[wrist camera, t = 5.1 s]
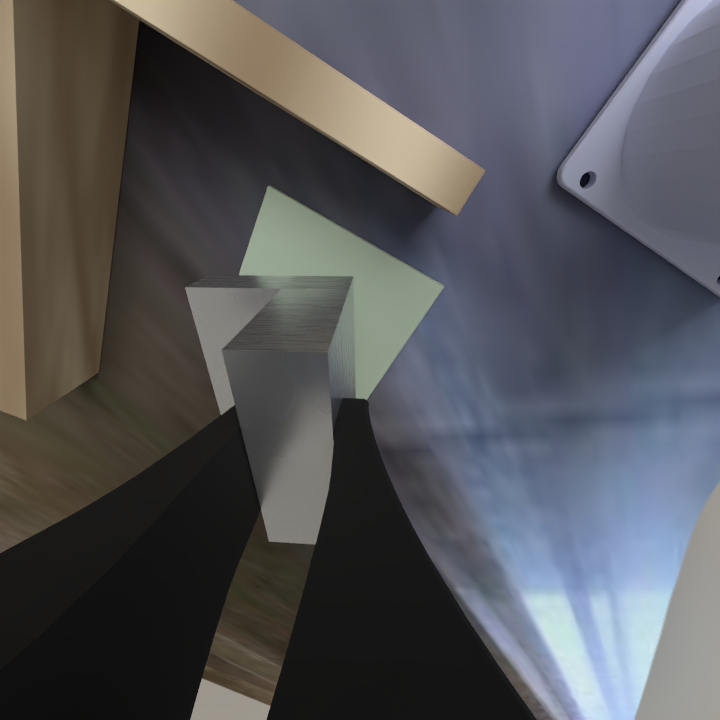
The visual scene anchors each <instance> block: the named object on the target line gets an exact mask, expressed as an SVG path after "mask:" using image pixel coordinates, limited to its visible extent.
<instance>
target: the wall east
mask: <svg viewBox="0 0 720 720" xmlns="http://www.w3.org/2000/svg"><path fill="white" fill-rule="evenodd" d="M138 28H139V20H138V19H137V18H135V17H134V16H132V15H131V14H129V13H128V12H126V11H125V10H123V9H122V8H120V7H119V6H117V5H116V4H114V3H113V2H111V1H110V0H0V411H3V412H6V413H8V414H11V415H13V416H16V417H19V418H21V419H24V420H28V419H29V418H31V417H32V416H34V415H35V414H37V413H38V412H40V411H41V410H43V409H44V408H46V407H48V406H49V405H51V404H52V403H54V402H55V401H57V400H58V399H60V398H61V397H63V396H64V395H66V394H67V393H69V392H70V391H72V390H73V389H75V388H76V387H78V386H79V385H81V384H82V383H84V382H85V381H87V380H88V379H90V378H91V377H93V376H94V375H96V374H97V373H99V367H100V358H101V350H102V341H103V332H104V323H105V315H106V306H107V297H108V289H109V280H110V271H111V263H112V254H113V245H114V236H115V228H116V219H117V210H118V202H119V193H120V184H121V176H122V167H123V158H124V149H125V141H126V132H127V123H128V115H129V106H130V97H131V88H132V80H133V71H134V62H135V54H136V45H137V36H138Z"/></svg>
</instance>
